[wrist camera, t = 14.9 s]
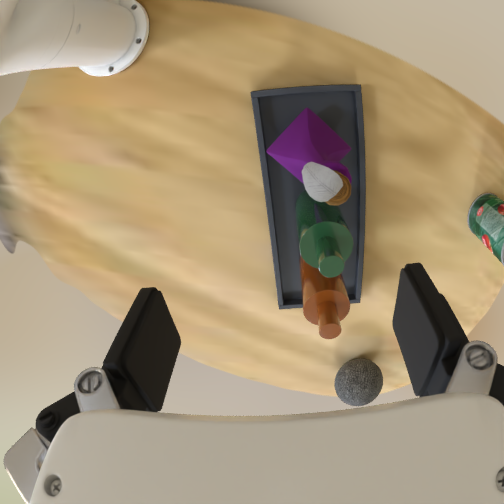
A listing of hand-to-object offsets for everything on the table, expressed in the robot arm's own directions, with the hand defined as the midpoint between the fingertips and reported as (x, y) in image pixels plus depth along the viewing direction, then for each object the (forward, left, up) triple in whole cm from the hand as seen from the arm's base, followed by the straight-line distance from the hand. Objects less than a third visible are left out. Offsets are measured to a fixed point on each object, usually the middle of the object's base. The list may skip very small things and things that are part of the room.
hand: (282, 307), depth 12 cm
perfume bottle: (0, +4, -32) cm, 32 cm away
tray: (+9, +4, -32) cm, 34 cm away
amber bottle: (+18, +4, -31) cm, 37 cm away
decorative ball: (+45, +12, -32) cm, 57 cm away
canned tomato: (+12, +34, -32) cm, 48 cm away
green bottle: (+9, +4, -31) cm, 33 cm away
